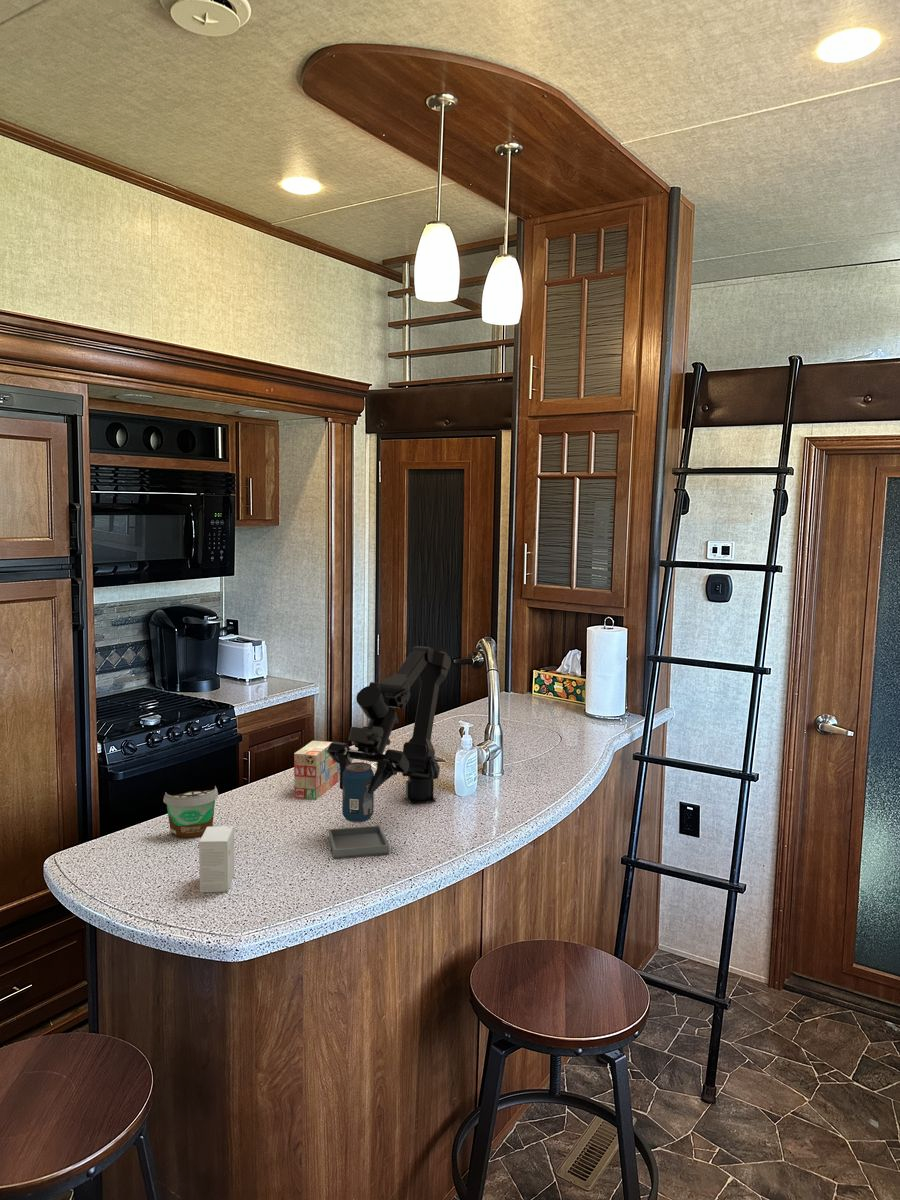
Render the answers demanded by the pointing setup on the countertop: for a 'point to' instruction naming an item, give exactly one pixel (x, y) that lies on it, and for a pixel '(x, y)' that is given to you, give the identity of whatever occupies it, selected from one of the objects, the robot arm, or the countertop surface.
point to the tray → (358, 842)
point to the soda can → (357, 792)
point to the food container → (190, 812)
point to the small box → (216, 859)
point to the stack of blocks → (314, 770)
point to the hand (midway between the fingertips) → (355, 791)
